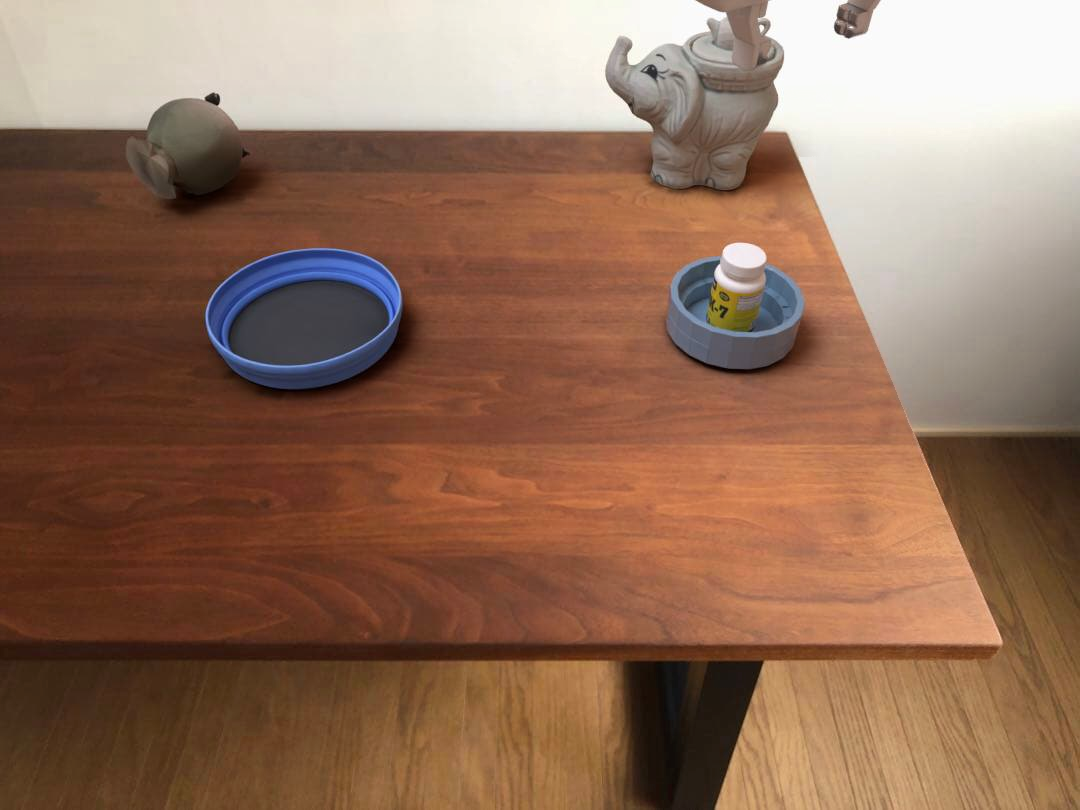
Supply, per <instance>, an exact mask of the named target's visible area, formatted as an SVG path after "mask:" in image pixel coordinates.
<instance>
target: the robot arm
mask: <svg viewBox="0 0 1080 810" xmlns="http://www.w3.org/2000/svg"><path fill="white" fill-rule="evenodd" d="M694 1H695V2H698V3H699V4H701V5H703V6H705V7H707V8H710V9H712V10H714V11H716V12H719V13H725V15H726V17H727V18H728V21H729V23H730V26H731V29H732V32H733V35H734V36H735V40H734V46H733V52H732V62H733V63H734V65H735V66H737V67H739V68H741V69H743V70H745V71H748V70H751V69H755V68H758V67H761V66H764V65H765V64H766V63H767V60H768V56H767V54H768V52H769V50H770V45H771V40H770V39H768V38H766V37H763V36H761V32H762V31H761V27H760V26H759V22H758V20H759V19H761V18H765V16H766V15H767V10H768V6H769V5H768V4H769V1H771V0H694ZM881 1H882V0H847V2H845V3H842V4H839V5H838V7H837V10H836V19H835V21H834V24H833V29H834V33H836V35H838V36H843V37H844V38H846V39H847V40H849V39H852V38H855V37H859V36H862V35H866V34H867V32H868V31H869V29H870V25H871V21H872V17H873V14H874V11H875V10H876V8H877V7H878V5H879V4H880V3H881Z"/></svg>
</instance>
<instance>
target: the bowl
mask: <svg viewBox="0 0 1080 810" xmlns="http://www.w3.org/2000/svg"><path fill="white" fill-rule="evenodd" d="M403 305H404V304H403V295H402V292H401V288H400V285H399V283H398V281H397V279H396V278H395V276H394V275H393V273H392V272H391V271H390V270H389V269H388V267H386V266H385V265H384V264H382V263H381V262H380V261H378V260H376V259H374V258H372V257H370V256H368V255H365V254H362V253H358V252H357V251H352V250H351V251H350V250H347V249H346V250H345V249H340V248H339V249H338V248H328V247H327V248H326V247H325V248H324V247H321V248H320V247H319V248H315V247H314V248H303V249H293V250H288V251H282V252H279V253H276V254H275V253H274V254H272V255H269V256H265V257H263V258H261V259H258V260H256V261H254V262H252V263H250V264H248V265H246V266H244V267H242V268H240V269H239V270H237V271H236V272H235V273H233V274H232V275H230V276H229V277H228V278H226V280H224V281H223V282H222V283H221V284H220V285H219V286H218V287H217V289H216V290H215V291H214V292H213V294H212V295H211V297H210V299H209V301H208V303H207V306H206V310H205V323H206V329H207V334H208V337H209V340H210V341H211V343H212V345H213V346H214V348H215V350H216V351H217V352H218V354H220V356H221V357H222V358H223V360H224V361H225V363H226V364H227V365H228V366H229V368H230V369H231V370H232V371H233V372H235V373H236V374H237V375H240V377H242V378H244V379H245V380H248V381H250V382H252V383H254V384H258V385H261V386H265V387H268V388H273V389H280V390H281V389H282V390H305V389H315V388H320V387H324V386H330V385H334V384H336V383H340V382H343V381H346V380H348V379H351V378H352V377H355V376H356V375H358V374H360V373H363V372H364V371H366V370H367V369H369V368H370V367H372V366H373V365H374V364H375V363H377V362H378V361H379V360H380V359H381V358H382V357H383V356H385V354H386V353H387V352H388V351H389V349H390V348H391V346H392V345H393V344H394V341H395V339H396V337H397V334H398V331H399V324H400V322H401V318H402V312H403Z"/></svg>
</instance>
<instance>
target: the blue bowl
mask: <svg viewBox="0 0 1080 810" xmlns="http://www.w3.org/2000/svg"><path fill="white" fill-rule="evenodd" d="M721 256H722V255H716V256H715V255H714V256H709V257H704V258H700V259H697V260H695V261H692V262H690V263H687V264H686V265H684V266H682V268H681V269H680V270H678V271H677V272H676V273H675V274H674V275H673V278H672V281H671V283H670V284H669V285H670V286H669V292H668V300H667V304H666V305H667V306H666V312H665V323H666V324H665V325H666V331H667V333H668V334H669V336H670V338H671V339H672V341H673V343H674V344H675V345H676V346H677V347H678V348H679V349H680V350H682V351H683V352H685V354H687V355H688V356H690V357H692V358H694V359H696V360H699V361H700V362H703V363H705V364H708V365H712V366H715V367H719V368H725V369H729V370H731V369H732V370H752V369H759V368H764V367H768V366H770V365H772V364H774V363H776V362H778V361H780V360H782V359H784V358H785V357H786V356H787V355H788V353H789V352H791V350H792V349H793V348H794V346H795V343H796V339H797V335H798V332H799V327H800V324H801V321H802V317H803V315H804V314H803V313H804V310H805V306H806V302H805V298H804V294H803V291H802V289H801V288H800V286H799V285H798V284H797V283H796V282H795V280H794V279H793V278H792V277H791V276H789V275H788V274H786V273H785V272H783V271H782V270H781V269H779V268H777V267H776V266H773V265H770V264H769V263H766V265H765V270H764V273H765V276H766V283H765V287H764V291H763V295H762V300H761V304H760V308H759V312H758V316H757V320H756V324H755V328H754V331H753V332H734V331H730V330H726V329H721V328H717V327H714V326H712V325H710V324H708V323H706V314H707V309H708V304H709V299H710V293H711V288H712V282H713V277H714V273H715V270H716V268H717V266H718V265H719V264H720V260H721Z"/></svg>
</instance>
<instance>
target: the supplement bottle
mask: <svg viewBox="0 0 1080 810" xmlns="http://www.w3.org/2000/svg"><path fill="white" fill-rule="evenodd" d="M720 256H721V260H720V264H719V265H718V266H717V268H716V270H715V273H714V277H713V282H712V288H711V293H710V299H709V304H708V309H707V314H706V323H708V324H710V325H712V326H714V327H717V328H721V329H726V330H730V331H734V332H753V331H754V328H755V324H756V320H757V316H758V312H759V308H760V304H761V300H762V295H763V291H764V287H765V283H766V276H765V273H764V270H765V265H766V264H767V254H766V252H765V251H764V250H763V249H762V248H761V247H759V246H757V245H755V244H752V243H748V242H733V243H729V244H728V245H726V246H725V247H724V248H723V250H722V253H721V255H720Z"/></svg>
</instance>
